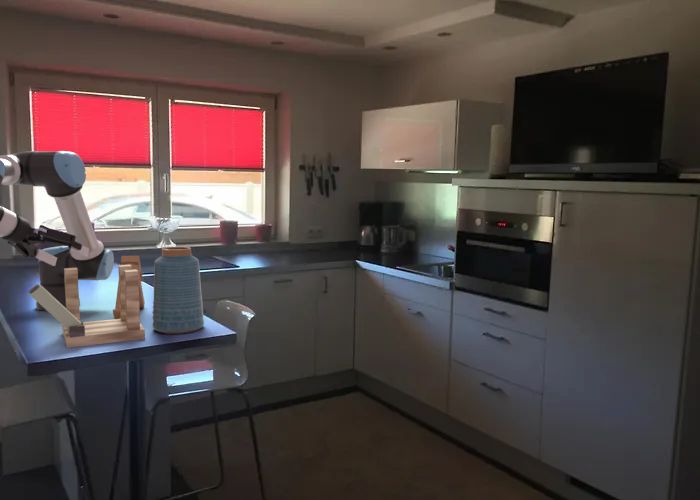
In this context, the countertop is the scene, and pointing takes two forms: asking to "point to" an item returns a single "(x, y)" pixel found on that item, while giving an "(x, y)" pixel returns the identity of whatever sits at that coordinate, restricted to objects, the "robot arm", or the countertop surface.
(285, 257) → the countertop surface
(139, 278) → the tan wooden piece
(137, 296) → the wooden rack
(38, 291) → the stool leg
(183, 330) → the vase
